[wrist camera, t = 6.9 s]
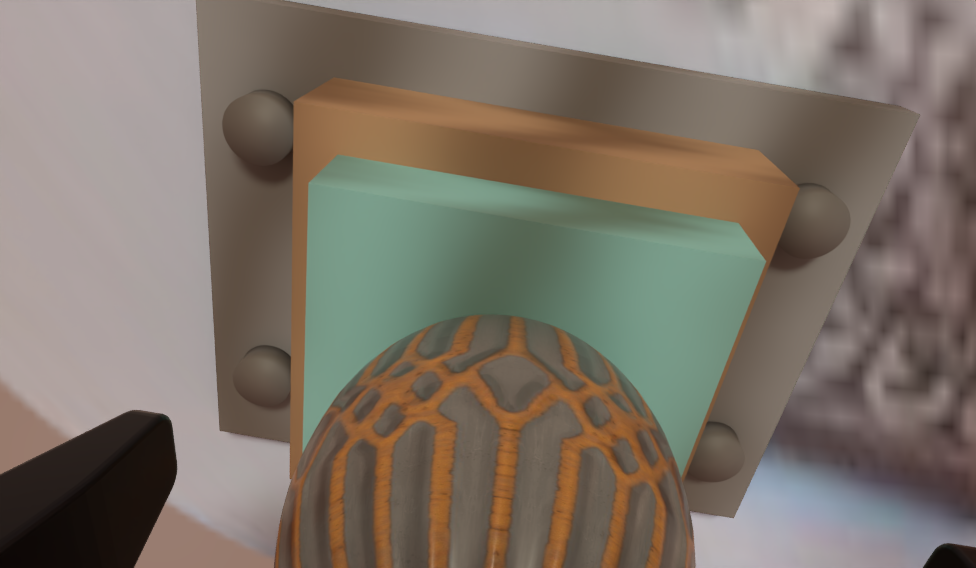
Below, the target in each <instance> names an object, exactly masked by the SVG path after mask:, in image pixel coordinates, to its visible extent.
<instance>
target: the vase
mask: <svg viewBox="0 0 976 568" xmlns="http://www.w3.org/2000/svg"><path fill="white" fill-rule="evenodd" d="M695 566H696V565H695V547H694V533H693V526H692V520H691V515H690V510H689V506H688V501H687V497H686V493H685V489H684V486H683V483H682V479H681V476H680V473H679V469H678V466H677V463H676V461H675V458H674V456H673V453H672V451H671V448H670V446H669V443H668V441H667V438H666V436H665V433H664V431H663V430H662V428H661V426H660V424H659V422H658V420H657V419H656V417H655V416H654V414H653V412H652V411H651V409H650V408H649V406H648V405H647V403H646V401H645V400H644V398H643V397H642V396H641V394H640V393H639V392H638V390H637V389H636V388H635V387H634V386H633V384H632V383H631V382H630V381H629V380H628V379H627V378H626V376H625V375H624V374H623V373H622V372H621V371H620V370H619V369H618V368H617V367H616V366H615V365H614V364H613V363H612V362H611V361H610V360H609V359H607V358H606V357H605V356H603V355H602V354H601V353H600V352H598V351H597V350H596V349H594V348H593V347H591V346H590V345H589V344H587V343H586V342H584V341H583V340H581V339H579V338H578V337H576V336H574V335H572V334H570V333H568V332H566V331H564V330H562V329H560V328H557V327H555V326H552V325H549V324H546V323H543V322H540V321H537V320H532V319H528V318H523V317H517V316H509V315H491V314H487V315H472V316H463V317H458V318H453V319H449V320H445V321H441V322H438V323H436V324H433V325H430V326H428V327H425V328H423V329H421V330H418V331H416V332H414V333H412V334H410V335H408V336H406V337H404V338H402V339H400V340H399V341H397V342H396V343H394V344H392V345H391V346H389V347H388V348H387V349H386V350H384V351H383V352H382V353H380V354H379V355H378V356H376V357H375V358H374V359H372V360H371V361H370V362H369V363H368V364H366V365H365V366H364V367H363V368H362V369H361V370H360V371H359V372H358V373H357V374H356V375H355V376H354V377H353V378H352V379H351V380H350V381H349V382H348V384H347V385H346V386H345V387H344V388H343V389H342V390H341V391H340V392H339V394H338V395H337V396H336V398H335V399H334V401H333V402H332V403H331V405H330V406H329V408H328V410H327V411H326V413H325V414H324V416H323V417H322V419H321V420H320V422H319V424H318V425H317V427H316V429H315V431H314V433H313V434H312V436H311V438H310V440H309V442H308V444H307V446H306V447H305V450H304V452H303V454H302V456H301V458H300V460H299V463H298V465H297V468H296V470H295V472H294V475H293V477H292V480H291V483H290V486H289V489H288V492H287V496H286V499H285V503H284V506H283V510H282V515H281V520H280V525H279V531H278V537H277V543H276V553H275V562H274V568H695Z"/></svg>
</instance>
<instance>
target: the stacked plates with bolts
mask: <svg viewBox="0 0 976 568" xmlns="http://www.w3.org/2000/svg"><path fill="white" fill-rule="evenodd" d="M196 11H197V29H198V47H199V66H200V84H201V102H202V120H203V138H204V156H205V174H206V192H207V210H208V228H209V246H210V264H211V282H212V300H213V319H214V337H215V355H216V373H217V391H218V409H219V427H220V431H225V432H231V433H237V434H242V435H248V436H254V437H260V438H266V439H272V440H278V441H283V442H289V443H290V479H292V477H293V475H294V472H295V470H296V468H297V465H298V463H299V460H300V458H301V456H302V454H303V452H304V450H305V447H306V446H307V444H308V442H309V440H310V438H311V436H312V434H313V433H314V431H315V429H316V427H317V425H318V424H319V422H320V420H321V419H322V417H323V416H324V414H325V413H326V411H327V410H328V408H329V406H330V405H331V403H332V402H333V401H334V399H335V398H336V396H337V395H338V394H339V392H340V391H341V390H342V389H343V388H344V387H345V386H346V385H347V384H348V382H349V381H350V380H351V379H352V378H353V377H354V376H355V375H356V374H357V373H358V372H359V371H360V370H361V369H362V368H363V367H364V366H365V365H366V364H368V363H369V362H370V361H371V360H372V359H374V358H375V357H376V356H378V355H379V354H380V353H382V352H383V351H384V350H386V349H387V348H388V347H389V346H391V345H392V344H394V343H396V342H397V341H399V340H400V339H402V338H404V337H406V336H408V335H410V334H412V333H414V332H416V331H418V330H421V329H423V328H425V327H428V326H430V325H433V324H436V323H438V322H441V321H445V320H449V319H453V318H458V317H463V316H472V315H487V314H491V315H509V316H517V317H523V318H528V319H532V320H537V321H540V322H543V323H546V324H549V325H552V326H555V327H557V328H560V329H562V330H564V331H566V332H568V333H570V334H572V335H574V336H576V337H578V338H579V339H581V340H583V341H584V342H586V343H587V344H589V345H590V346H591V347H593V348H594V349H596V350H597V351H598V352H600V353H601V354H602V355H603V356H605V357H606V358H607V359H609V360H610V361H611V362H612V363H613V364H614V365H615V366H616V367H617V368H618V369H619V370H620V371H621V372H622V373H623V374H624V375H625V376H626V378H627V379H628V380H629V381H630V382H631V383H632V384H633V386H634V387H635V388H636V389H637V390H638V392H639V393H640V394H641V396H642V397H643V398H644V400H645V401H646V403H647V405H648V406H649V408H650V409H651V411H652V412H653V414H654V416H655V417H656V419H657V420H658V422H659V424H660V426H661V428H662V430H663V431H664V433H665V436H666V438H667V441H668V443H669V446H670V448H671V451H672V453H673V456H674V458H675V461H676V463H677V466H678V469H679V473H680V476H681V479H682V483H683V486H684V489H685V493H686V497H687V501H688V506H689V510H690V511H694V512H700V513H706V514H712V515H718V516H724V517H729V518H734V516H735V514H736V512H737V510H738V508H739V506H740V503H741V501H742V499H743V497H744V495H745V493H746V490H747V488H748V486H749V484H750V482H751V480H752V477H753V475H754V473H755V471H756V469H757V467H758V465H759V462H760V460H761V458H762V456H763V454H764V452H765V449H766V447H767V445H768V443H769V441H770V439H771V436H772V434H773V432H774V430H775V428H776V426H777V423H778V421H779V419H780V417H781V415H782V413H783V410H784V408H785V406H786V404H787V402H788V400H789V398H790V395H791V393H792V391H793V389H794V387H795V385H796V382H797V380H798V378H799V376H800V374H801V372H802V369H803V367H804V365H805V363H806V361H807V359H808V356H809V354H810V352H811V350H812V348H813V346H814V343H815V341H816V339H817V337H818V335H819V333H820V331H821V328H822V326H823V324H824V322H825V320H826V318H827V315H828V313H829V311H830V309H831V307H832V305H833V302H834V300H835V298H836V296H837V294H838V292H839V289H840V287H841V285H842V283H843V281H844V279H845V276H846V274H847V272H848V270H849V268H850V266H851V263H852V261H853V259H854V257H855V255H856V253H857V251H858V248H859V246H860V244H861V242H862V240H863V238H864V235H865V233H866V231H867V229H868V227H869V225H870V222H871V220H872V218H873V216H874V214H875V212H876V209H877V207H878V205H879V203H880V201H881V199H882V196H883V194H884V192H885V190H886V188H887V186H888V184H889V181H890V179H891V177H892V175H893V173H894V171H895V168H896V166H897V164H898V162H899V160H900V158H901V155H902V153H903V151H904V149H905V147H906V145H907V142H908V140H909V138H910V136H911V134H912V132H913V129H914V127H915V125H916V123H917V121H918V119H919V116H920V114H917V113H915V112H913V111H910V110H908V109H906V108H903V107H901V106H896V105H890V104H885V103H879V102H873V101H867V100H861V99H855V98H850V97H844V96H838V95H832V94H826V93H820V92H815V91H809V90H803V89H797V88H791V87H785V86H780V85H774V84H768V83H762V82H756V81H750V80H745V79H739V78H733V77H727V76H721V75H715V74H710V73H704V72H698V71H692V70H686V69H680V68H675V67H669V66H663V65H657V64H651V63H645V62H640V61H634V60H628V59H622V58H616V57H611V56H605V55H599V54H593V53H587V52H581V51H576V50H570V49H564V48H558V47H552V46H546V45H541V44H535V43H529V42H523V41H517V40H511V39H506V38H500V37H494V36H488V35H482V34H476V33H471V32H465V31H459V30H453V29H447V28H441V27H436V26H430V25H424V24H418V23H412V22H406V21H401V20H395V19H389V18H383V17H377V16H371V15H366V14H360V13H354V12H348V11H342V10H336V9H331V8H325V7H319V6H313V5H307V4H302V3H296V2H290V1H284V0H196Z"/></svg>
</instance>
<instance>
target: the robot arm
mask: <svg viewBox="0 0 976 568" xmlns="http://www.w3.org/2000/svg"><path fill="white" fill-rule="evenodd" d="M176 475H177V460H176V452H175V444H174V436H173V428H172V423H171V420H170V419H169V417H168V416H166V415H164V414H160V413H154V412H148V411H142V410H131V411H128V412H126V413H123V414H121V415H119V416H117V417H115V418H113V419H111V420H109V421H107V422H105V423H103V424H101V425H99V426H97V427H95V428H93V429H91V430H89V431H87V432H85V433H83V434H81V435H79V436H77V437H75V438H73V439H71V440H69V441H67V442H65V443H63V444H61V445H59V446H57V447H55V448H53V449H51V450H49V451H47V452H45V453H43V454H41V455H39V456H37V457H35V458H32V459H30V460H28V461H26V462H24V463H22V464H20V465H18V466H17V467H14V468H12V469H10V470H9V471H6V472H4V473H2V474H0V568H134V566H135V564H136V562H137V560H138V558H139V556H140V554H141V552H142V550H143V548H144V546H145V544H146V542H147V539H148V537H149V535H150V533H151V531H152V529H153V527H154V525H155V523H156V521H157V519H158V517H159V515H160V513H161V510H162V508H163V507H164V504H165V502H166V500H167V498H168V496H169V494H170V492H171V490H172V488H173V485H174V482H175V479H176ZM923 568H976V547H970V546H963V545H957V544H951V543H946V544H942V545H940V546H939V547H937V548H936V549H935V550H934V552H933V553H932V555H931V556H930V558H929V559H928V561H927V562H926V564H925V565H924V567H923Z"/></svg>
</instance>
